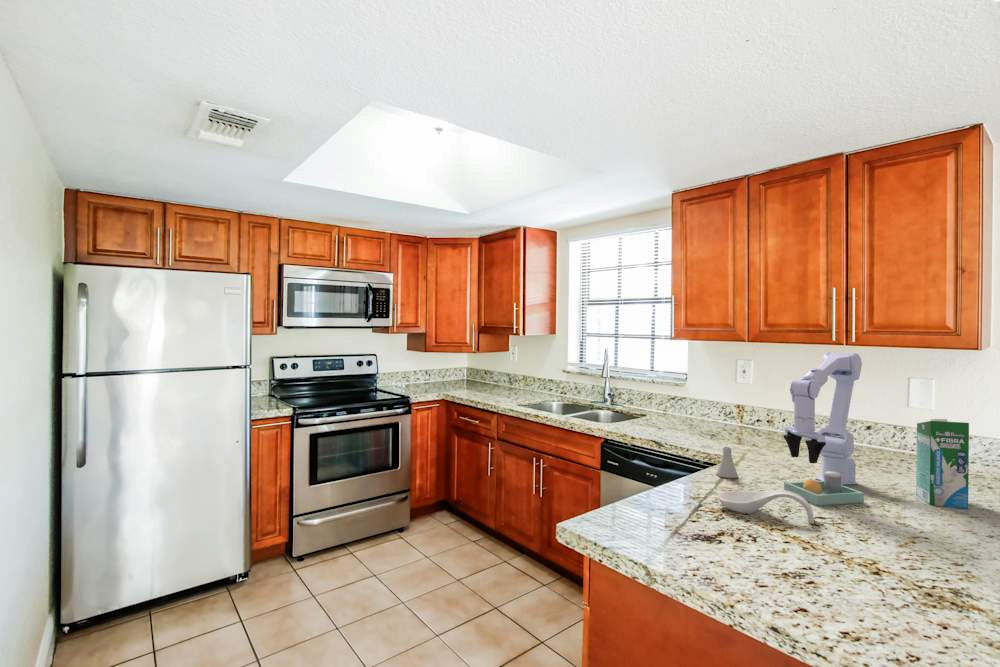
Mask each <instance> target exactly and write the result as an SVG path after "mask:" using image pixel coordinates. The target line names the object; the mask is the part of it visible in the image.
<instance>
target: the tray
mask: <svg viewBox="0 0 1000 667" xmlns="http://www.w3.org/2000/svg"><path fill="white" fill-rule="evenodd" d="M806 481H807V480H806ZM806 481H805V480H804V481H787V482H783V486H784V487H783V490H786V491H790V492H793V493H796V494H798V495H800V496H801V497H803V498H804V499H805V500H806V501H807V502H808V503H809V504H811V505H814V506H816V507H822V506H836V505H854V504H864V503H865V492H862V491H859V490H857V489H854V488H851V487H848V486H846V485H841V493H833V494H824V480H822V481H821V480H816V481H817V482H818V483H820V485H821V487H822V492H821V494H815V493H813V492H810V491H808V490H805V489H803V484H804V482H806Z"/></svg>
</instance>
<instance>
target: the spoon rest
mask: <svg viewBox="0 0 1000 667" xmlns="http://www.w3.org/2000/svg"><path fill="white" fill-rule="evenodd" d="M778 498H789V499H791V500H794V501H796V502H798V503H799V504H800V505H801V506H802V507H803V508H804V509H805V512H806V516H807V520H808V523H810V524H812V525H813V524H814V522H815V519H814V518H815V517H814V512H813V509H812V506H811V505H810V504H811V503H809V502H807V501H806V500H805V499H804V498H803V497H801V496H800V495H798V494H796V493H793V492H790V491H786V490H784V489H773V490H762V491H761V490H760V491H748V490H746V491H745V490H743V491H742V490H729V491H724V492H721V493H718V495H717V499H718V501H719V502H720V503H721V504H722V505H723V507H725V508H727V510H731V511H732V510H733V511H732V512H735V511H737V512H736V513H738V512H742V513H741V514H745V513H751V514H754V513H755V512H756V511H759V510H760V509H761V508H762V507H764V506H766V504H768V503H770V502H771V501H773V500H775V499H778ZM753 512H754V513H753Z"/></svg>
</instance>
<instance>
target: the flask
mask: <svg viewBox="0 0 1000 667" xmlns="http://www.w3.org/2000/svg"><path fill="white" fill-rule="evenodd" d="M721 450H723V453H722V458H721V461H720V463H719V466H718V468H717V471H716V476H718V477H720V478H725V479H726V478H727V479H737V478H739V475H738V472H737V469H736V466H735V464H734V461H733V457H732V450H733V447H730V446H722V449H721Z"/></svg>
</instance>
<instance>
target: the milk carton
mask: <svg viewBox="0 0 1000 667" xmlns="http://www.w3.org/2000/svg"><path fill="white" fill-rule="evenodd" d="M969 438H970V422H960V421H948V419H947V418H946V419H945V418H930V420H928V421H923V422H917V423H916V481H915V482H916V485H915V486H916V488H915V489H916V492H915V494H916V497H917V498H919V499H921V500H922V501H924V502H925V503H926V504H928V505H929V506H935V507H944V508H945V507H947V508H955V509H956V508H957V509H966V510H967V509H969V477H970V476H969V470H970V469H969V465H970V463H969V459H970V457H969V456H970V455H969V454H970V453H969V450H970V448H969V447H970V446H969V445H970V442H969V441H970V439H969Z"/></svg>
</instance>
